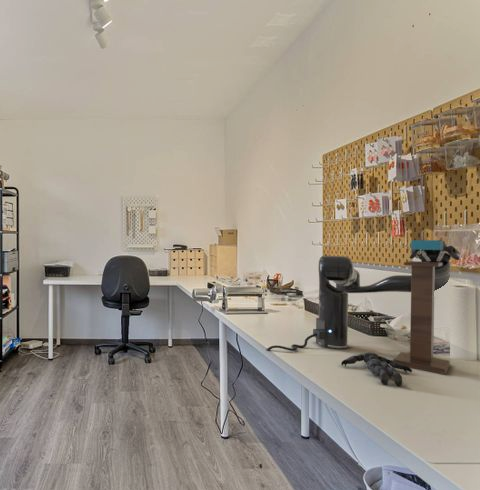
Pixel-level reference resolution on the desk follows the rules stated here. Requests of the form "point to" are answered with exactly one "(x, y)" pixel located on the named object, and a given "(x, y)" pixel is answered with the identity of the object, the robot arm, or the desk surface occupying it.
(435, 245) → the back pad
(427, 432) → the desk surface
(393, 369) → the dark grey jointed piece
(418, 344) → the stand
